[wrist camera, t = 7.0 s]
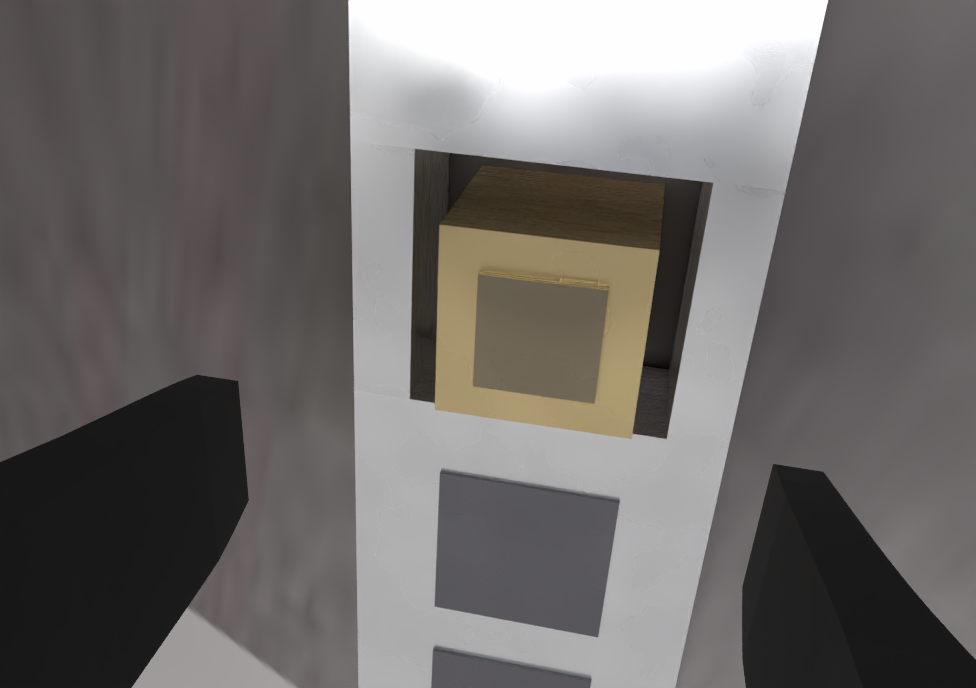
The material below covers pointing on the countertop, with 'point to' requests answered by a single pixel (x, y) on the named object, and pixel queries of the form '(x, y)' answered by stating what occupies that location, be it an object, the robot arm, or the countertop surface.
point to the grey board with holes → (662, 393)
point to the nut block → (547, 298)
